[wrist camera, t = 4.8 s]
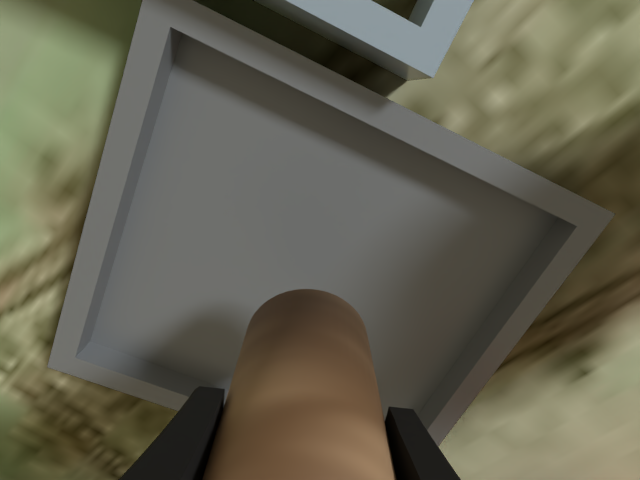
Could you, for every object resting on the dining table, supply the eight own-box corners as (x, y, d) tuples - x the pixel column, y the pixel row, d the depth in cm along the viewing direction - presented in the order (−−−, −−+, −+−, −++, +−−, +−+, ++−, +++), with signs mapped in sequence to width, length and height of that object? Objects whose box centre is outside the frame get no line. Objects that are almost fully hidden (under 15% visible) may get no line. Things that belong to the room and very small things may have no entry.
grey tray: (581, 200, 17) (615, 214, 15) (398, 453, 22) (406, 487, 20) (171, -7, 14) (148, -23, 12) (73, 339, 19) (47, 367, 17)
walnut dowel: (375, 294, 12) (502, 744, 4) (359, 395, 14) (426, 885, 5) (247, 284, 12) (82, 729, 4) (244, 387, 13) (121, 879, 5)
